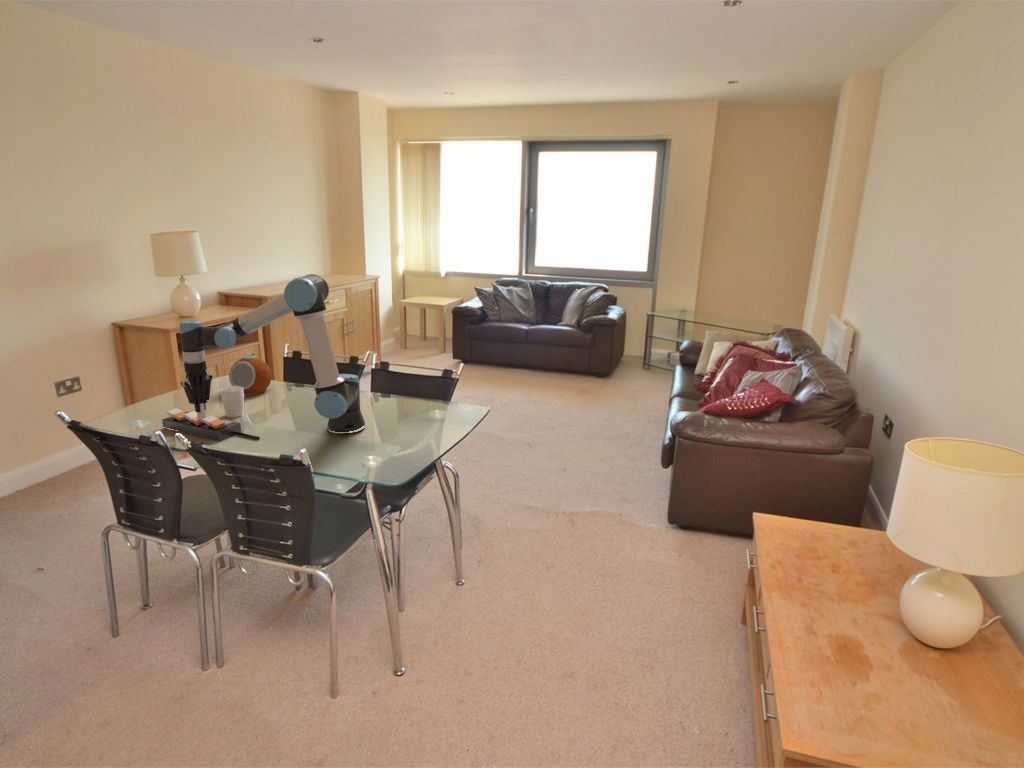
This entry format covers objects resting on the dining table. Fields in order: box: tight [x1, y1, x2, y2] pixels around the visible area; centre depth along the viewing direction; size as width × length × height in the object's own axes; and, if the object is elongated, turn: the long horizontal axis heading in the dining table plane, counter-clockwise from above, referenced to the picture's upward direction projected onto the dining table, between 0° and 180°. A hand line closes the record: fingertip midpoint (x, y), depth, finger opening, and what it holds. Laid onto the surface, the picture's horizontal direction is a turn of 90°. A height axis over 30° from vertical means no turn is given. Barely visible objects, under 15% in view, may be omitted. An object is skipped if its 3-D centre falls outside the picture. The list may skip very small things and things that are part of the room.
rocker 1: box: [166, 407, 187, 421], centre depth 241 cm, size 7×4×1 cm, turn 68°
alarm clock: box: [228, 355, 272, 395], centre depth 291 cm, size 19×18×17 cm
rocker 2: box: [184, 410, 204, 425], centre depth 237 cm, size 7×4×1 cm, turn 68°
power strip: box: [161, 411, 261, 442], centre depth 239 cm, size 42×11×5 cm, turn 68°
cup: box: [220, 385, 245, 419], centre depth 258 cm, size 9×9×12 cm
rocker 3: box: [202, 415, 225, 429], centre depth 234 cm, size 7×4×1 cm, turn 68°
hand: (201, 419), depth 236 cm, fingers closed
